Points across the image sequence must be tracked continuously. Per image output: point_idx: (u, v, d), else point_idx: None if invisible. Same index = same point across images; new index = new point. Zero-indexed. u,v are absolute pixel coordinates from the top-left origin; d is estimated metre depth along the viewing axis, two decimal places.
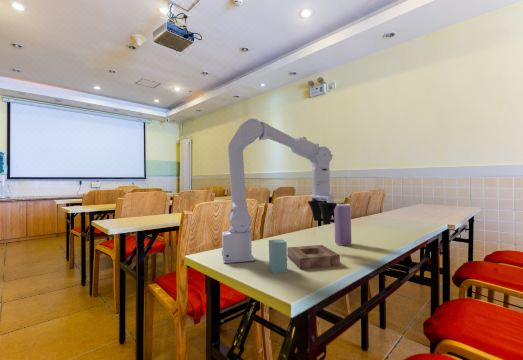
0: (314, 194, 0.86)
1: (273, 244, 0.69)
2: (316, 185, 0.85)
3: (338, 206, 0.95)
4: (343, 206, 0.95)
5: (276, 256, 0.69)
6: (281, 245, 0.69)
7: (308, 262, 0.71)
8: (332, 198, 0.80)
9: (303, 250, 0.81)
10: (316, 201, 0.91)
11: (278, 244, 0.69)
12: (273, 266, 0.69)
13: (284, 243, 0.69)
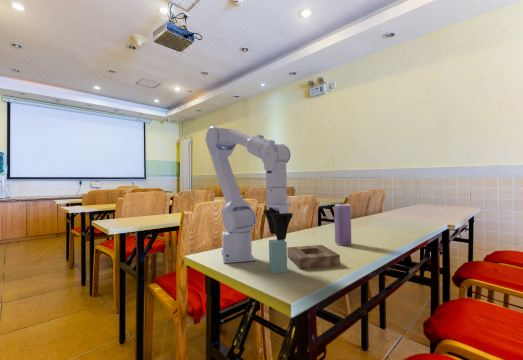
0: (267, 202, 0.70)
1: (273, 244, 0.69)
2: (269, 191, 0.69)
3: (338, 206, 0.95)
4: (343, 206, 0.95)
5: (276, 256, 0.69)
6: (281, 245, 0.69)
7: (308, 262, 0.71)
8: (285, 208, 0.64)
9: (303, 250, 0.81)
10: (273, 210, 0.74)
11: (278, 244, 0.69)
12: (273, 266, 0.69)
13: (284, 243, 0.69)
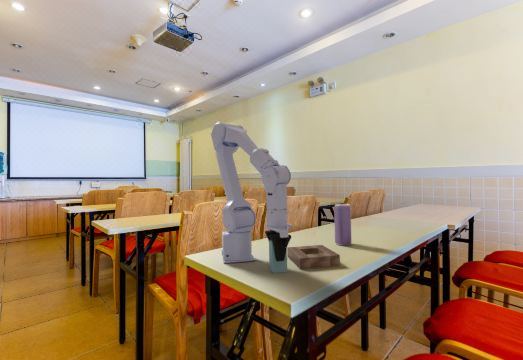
0: (268, 224, 0.70)
1: None
2: (269, 213, 0.69)
3: (338, 206, 0.95)
4: (343, 206, 0.95)
5: None
6: None
7: (308, 262, 0.71)
8: (286, 232, 0.64)
9: (303, 250, 0.81)
10: (274, 232, 0.73)
11: None
12: (273, 266, 0.69)
13: None
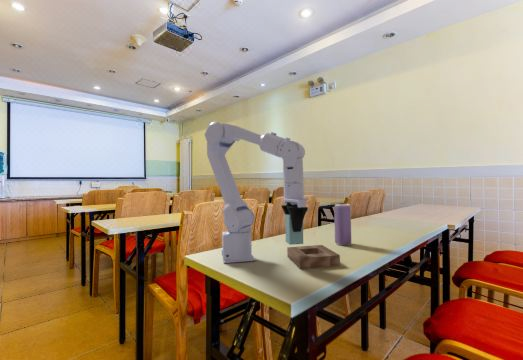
0: (285, 197, 0.73)
1: (290, 217, 0.72)
2: (287, 186, 0.72)
3: (338, 206, 0.95)
4: (343, 206, 0.95)
5: None
6: None
7: (308, 262, 0.71)
8: (303, 202, 0.67)
9: (303, 250, 0.81)
10: (291, 205, 0.76)
11: None
12: (290, 238, 0.72)
13: None
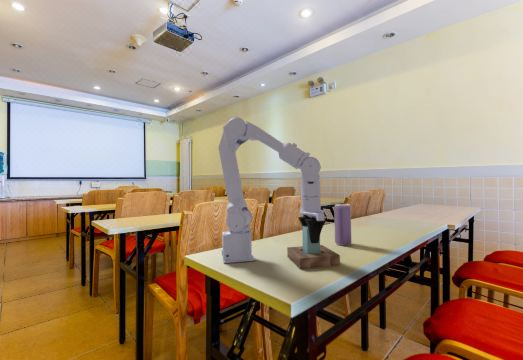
0: (303, 210, 0.77)
1: (308, 229, 0.76)
2: (305, 200, 0.76)
3: (338, 206, 0.95)
4: (343, 206, 0.95)
5: None
6: None
7: (308, 262, 0.71)
8: (322, 216, 0.71)
9: None
10: (307, 217, 0.80)
11: None
12: (308, 249, 0.76)
13: None
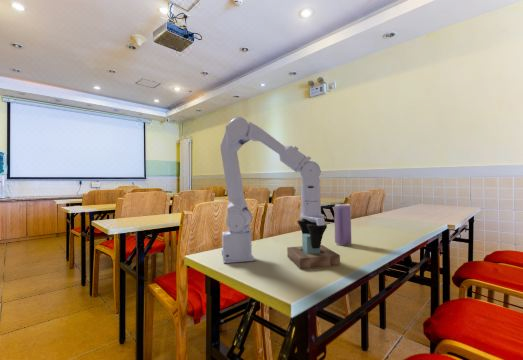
0: (303, 214, 0.77)
1: (308, 237, 0.76)
2: (305, 204, 0.76)
3: (338, 206, 0.95)
4: (343, 206, 0.95)
5: (311, 248, 0.76)
6: None
7: (308, 262, 0.71)
8: (322, 220, 0.71)
9: None
10: (306, 221, 0.81)
11: None
12: None
13: None
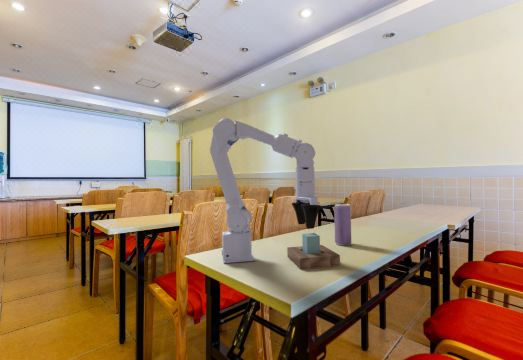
0: (297, 195, 0.78)
1: (308, 237, 0.76)
2: (299, 185, 0.78)
3: (338, 206, 0.95)
4: (343, 206, 0.95)
5: (311, 248, 0.76)
6: (315, 238, 0.76)
7: (308, 262, 0.71)
8: (316, 200, 0.73)
9: None
10: (300, 203, 0.83)
11: (312, 237, 0.76)
12: None
13: (317, 236, 0.76)
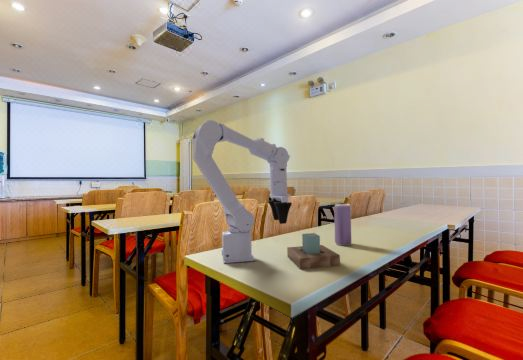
0: (271, 194, 0.87)
1: (308, 237, 0.76)
2: (273, 185, 0.87)
3: (338, 206, 0.95)
4: (343, 206, 0.95)
5: (311, 248, 0.76)
6: (315, 238, 0.76)
7: (308, 262, 0.71)
8: (286, 198, 0.82)
9: None
10: (276, 201, 0.92)
11: (312, 237, 0.76)
12: None
13: (317, 236, 0.76)
